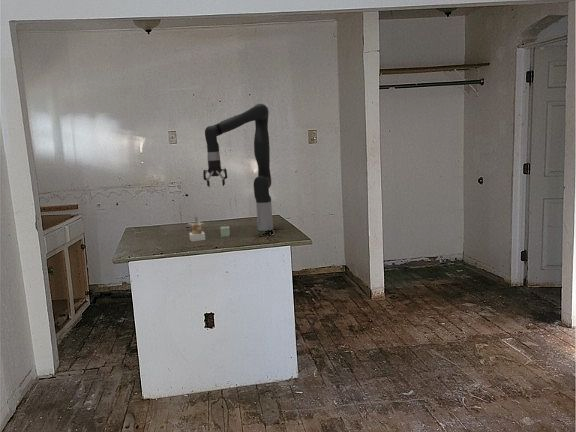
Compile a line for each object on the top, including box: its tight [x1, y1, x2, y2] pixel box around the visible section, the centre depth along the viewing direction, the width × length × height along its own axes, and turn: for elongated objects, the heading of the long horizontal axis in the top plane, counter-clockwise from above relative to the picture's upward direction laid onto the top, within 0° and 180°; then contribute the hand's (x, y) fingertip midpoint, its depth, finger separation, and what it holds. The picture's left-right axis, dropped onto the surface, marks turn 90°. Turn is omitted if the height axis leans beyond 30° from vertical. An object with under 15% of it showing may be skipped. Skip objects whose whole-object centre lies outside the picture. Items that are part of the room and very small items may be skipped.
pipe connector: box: [187, 215, 206, 227], centre depth 317 cm, size 10×10×10 cm
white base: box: [188, 230, 206, 242], centre depth 299 cm, size 8×8×4 cm
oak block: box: [191, 222, 203, 234], centre depth 298 cm, size 5×5×5 cm
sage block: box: [220, 225, 231, 238], centre depth 304 cm, size 5×5×5 cm
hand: (216, 186), depth 312 cm, fingers open, 8 cm apart
